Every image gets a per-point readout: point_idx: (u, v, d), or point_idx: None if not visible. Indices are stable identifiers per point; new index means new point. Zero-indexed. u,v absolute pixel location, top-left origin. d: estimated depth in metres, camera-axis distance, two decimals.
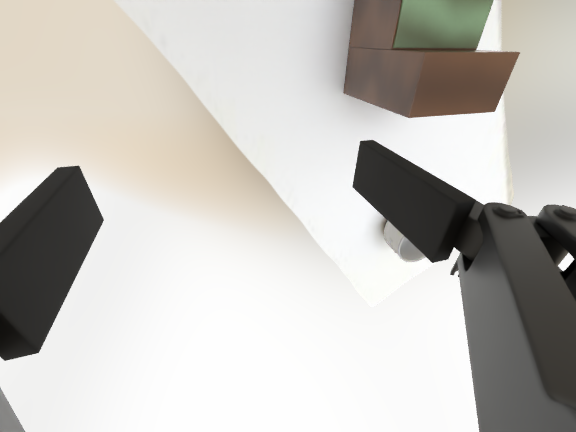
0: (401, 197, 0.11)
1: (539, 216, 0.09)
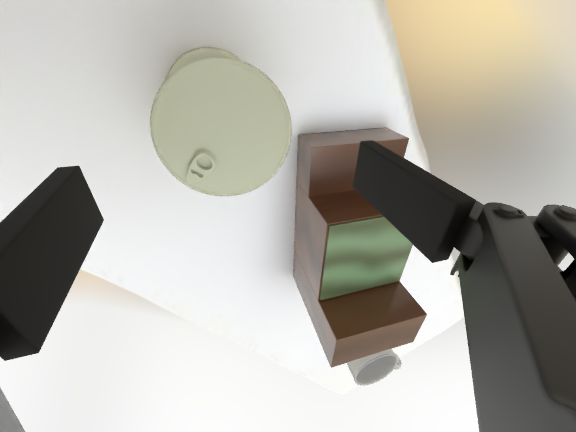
0: (401, 197, 0.11)
1: (539, 216, 0.09)
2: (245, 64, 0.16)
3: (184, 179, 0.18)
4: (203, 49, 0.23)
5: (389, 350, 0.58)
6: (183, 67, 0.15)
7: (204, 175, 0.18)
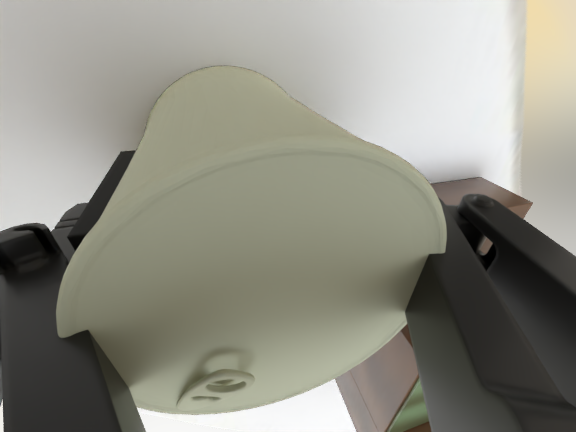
0: None
1: (460, 206, 0.09)
2: (376, 152, 0.05)
3: (174, 407, 0.07)
4: (215, 70, 0.12)
5: None
6: (161, 181, 0.04)
7: (224, 397, 0.07)
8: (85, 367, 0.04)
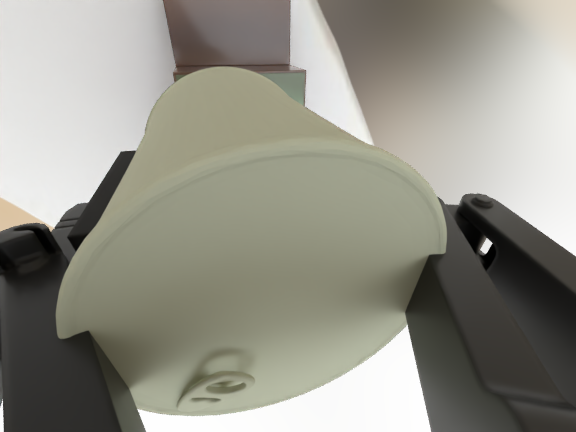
0: None
1: (460, 206, 0.09)
2: (376, 154, 0.05)
3: (173, 408, 0.07)
4: (215, 70, 0.12)
5: None
6: (161, 183, 0.04)
7: (224, 399, 0.07)
8: (85, 367, 0.04)
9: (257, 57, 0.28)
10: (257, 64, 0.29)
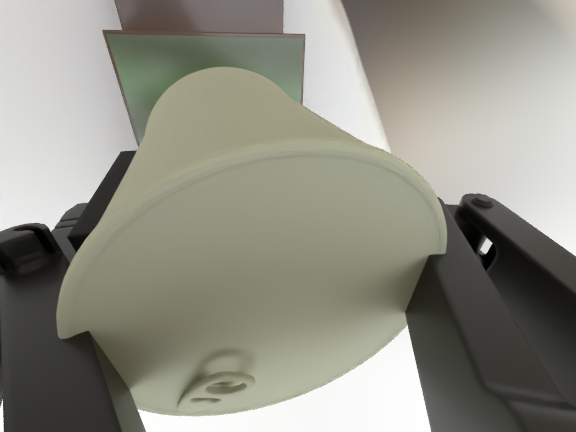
0: None
1: (460, 206, 0.09)
2: (377, 155, 0.05)
3: (174, 409, 0.07)
4: (215, 71, 0.12)
5: None
6: (162, 184, 0.04)
7: (224, 399, 0.07)
8: (85, 367, 0.04)
9: (239, 21, 0.21)
10: (238, 32, 0.21)
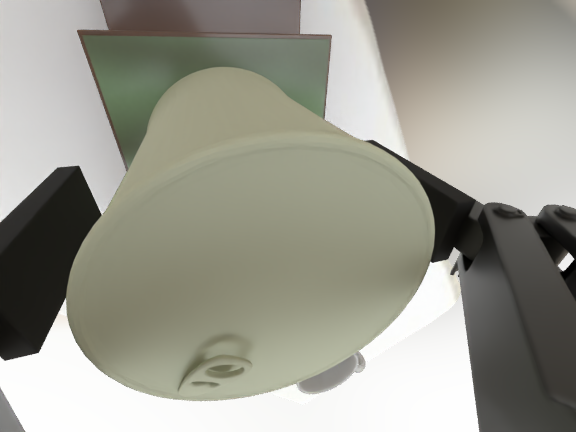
0: None
1: (539, 216, 0.09)
2: (364, 148, 0.05)
3: (175, 393, 0.08)
4: (215, 71, 0.13)
5: None
6: (165, 173, 0.04)
7: (223, 383, 0.08)
8: None
9: (248, 20, 0.17)
10: (248, 32, 0.18)
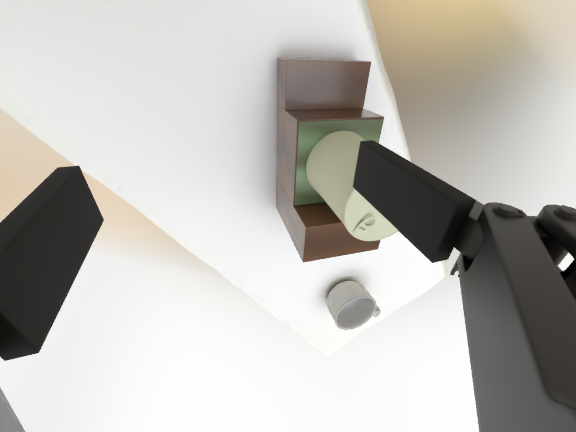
0: (401, 197, 0.11)
1: (539, 216, 0.09)
2: None
3: (352, 231, 0.28)
4: (341, 133, 0.33)
5: (368, 294, 0.62)
6: None
7: (366, 229, 0.28)
8: None
9: (341, 103, 0.38)
10: (340, 108, 0.38)
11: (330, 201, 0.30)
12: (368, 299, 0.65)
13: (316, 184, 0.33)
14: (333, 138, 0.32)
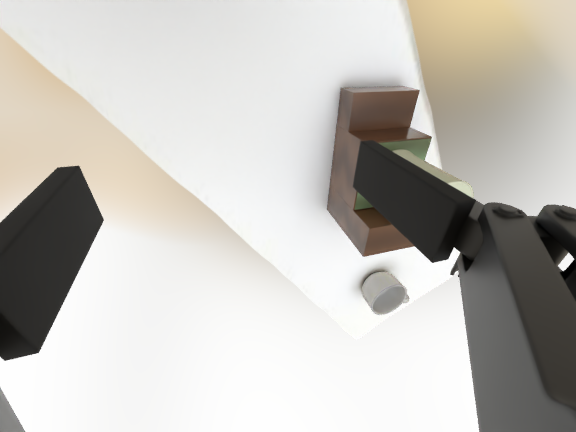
0: (401, 197, 0.11)
1: (539, 216, 0.09)
2: (465, 182, 0.33)
3: None
4: (398, 151, 0.41)
5: (400, 283, 0.70)
6: None
7: None
8: None
9: (393, 124, 0.45)
10: (392, 128, 0.46)
11: None
12: (399, 288, 0.74)
13: None
14: None
